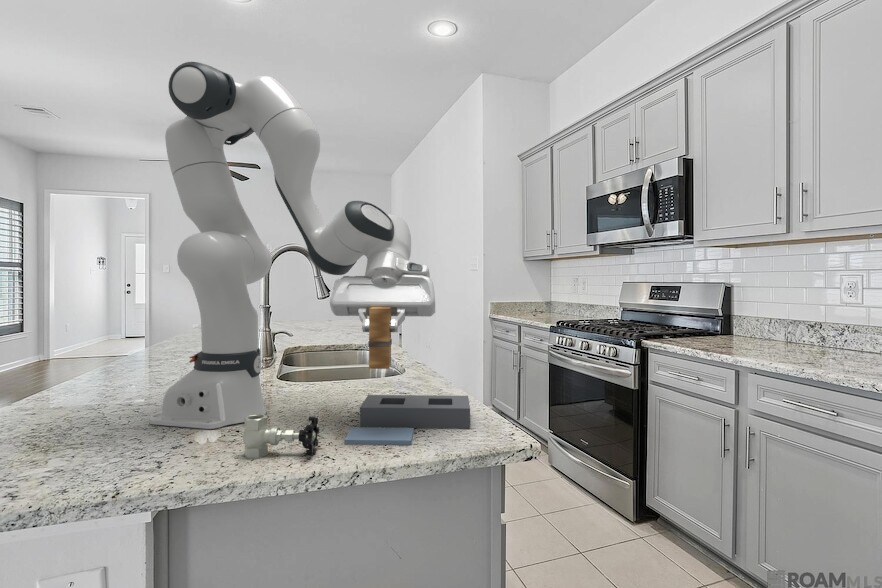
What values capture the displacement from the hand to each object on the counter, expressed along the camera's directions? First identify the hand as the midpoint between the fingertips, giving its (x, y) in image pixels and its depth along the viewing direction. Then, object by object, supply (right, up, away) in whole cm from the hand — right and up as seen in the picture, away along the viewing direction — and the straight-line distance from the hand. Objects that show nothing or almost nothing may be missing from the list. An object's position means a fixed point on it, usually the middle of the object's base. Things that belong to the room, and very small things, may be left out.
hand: (380, 330), depth 88 cm
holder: (+6, -20, +12) cm, 24 cm away
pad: (0, -20, +1) cm, 20 cm away
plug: (0, -7, +1) cm, 7 cm away
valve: (-16, -21, -7) cm, 27 cm away
